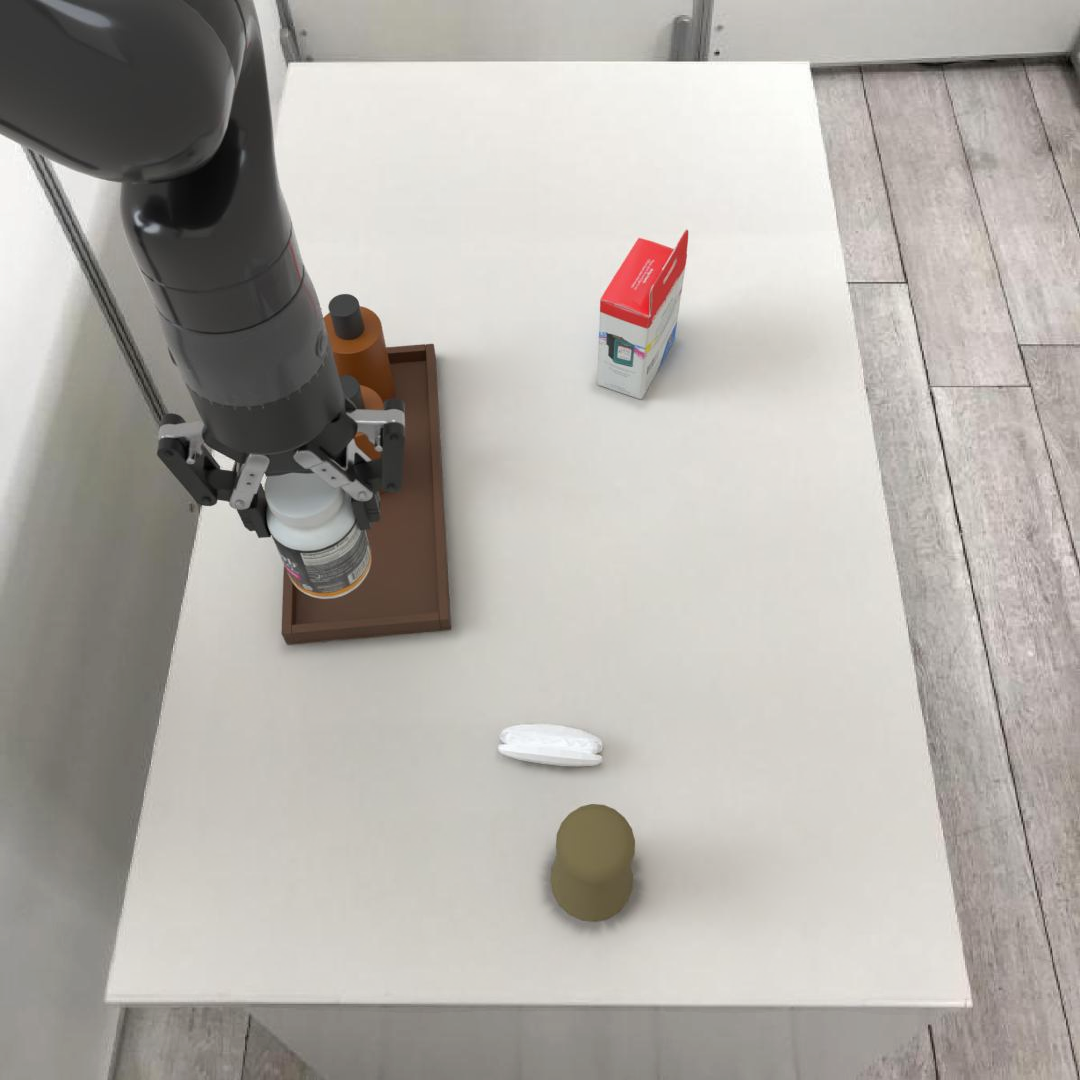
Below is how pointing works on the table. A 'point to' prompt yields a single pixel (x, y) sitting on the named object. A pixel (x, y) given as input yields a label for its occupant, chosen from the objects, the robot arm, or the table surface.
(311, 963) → the table surface
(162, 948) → the table surface
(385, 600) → the tray
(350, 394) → the amber bottle near
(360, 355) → the amber bottle far
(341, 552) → the pill bottle
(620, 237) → the table surface
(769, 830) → the table surface
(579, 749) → the sub sandwich
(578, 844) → the cork
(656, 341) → the ink box
